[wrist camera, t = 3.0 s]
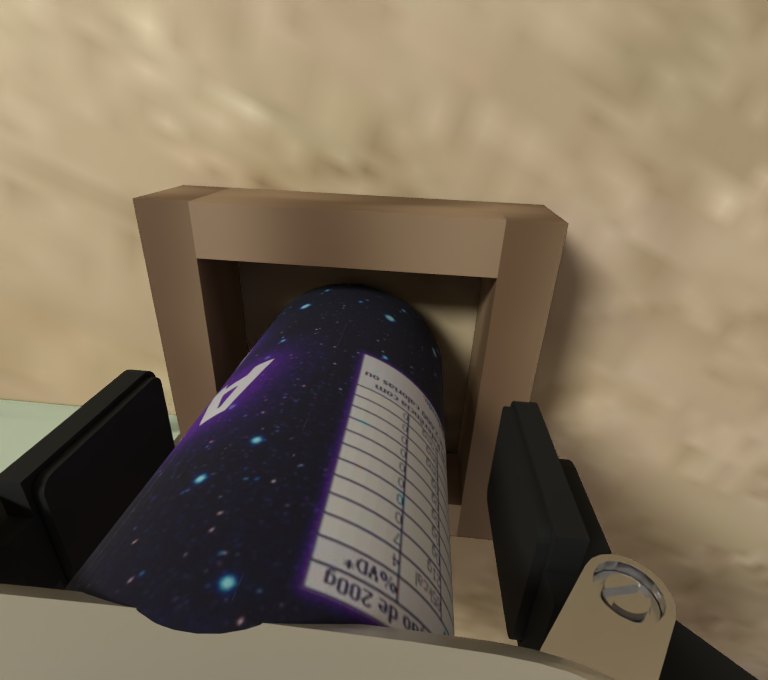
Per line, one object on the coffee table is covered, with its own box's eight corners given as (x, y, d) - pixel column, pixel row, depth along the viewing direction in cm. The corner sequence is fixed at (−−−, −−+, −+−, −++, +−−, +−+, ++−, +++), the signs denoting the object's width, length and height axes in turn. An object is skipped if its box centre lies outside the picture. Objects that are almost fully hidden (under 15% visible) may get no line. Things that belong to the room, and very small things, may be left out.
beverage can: (310, 242, 14) (-143, 700, 3) (473, 323, 14) (604, 941, 4) (252, 382, 16) (-108, 912, 5) (394, 446, 17) (329, 1032, 6)
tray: (193, 416, 17) (129, 495, 13) (228, 609, 22) (189, 704, 18) (-91, 391, 18) (-223, 459, 14) (7, 583, 23) (-72, 669, 19)
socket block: (543, 205, 12) (568, 223, 10) (489, 485, 17) (498, 540, 15) (183, 185, 13) (132, 198, 11) (224, 460, 18) (195, 509, 16)
